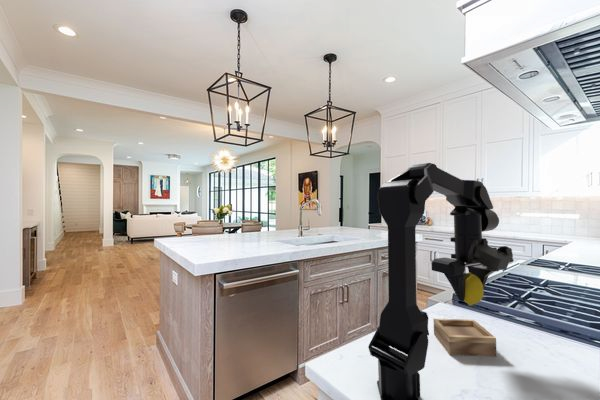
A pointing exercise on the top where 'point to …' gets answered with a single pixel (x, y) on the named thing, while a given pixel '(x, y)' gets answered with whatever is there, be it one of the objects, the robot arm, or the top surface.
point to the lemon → (473, 290)
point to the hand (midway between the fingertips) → (469, 298)
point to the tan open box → (464, 337)
